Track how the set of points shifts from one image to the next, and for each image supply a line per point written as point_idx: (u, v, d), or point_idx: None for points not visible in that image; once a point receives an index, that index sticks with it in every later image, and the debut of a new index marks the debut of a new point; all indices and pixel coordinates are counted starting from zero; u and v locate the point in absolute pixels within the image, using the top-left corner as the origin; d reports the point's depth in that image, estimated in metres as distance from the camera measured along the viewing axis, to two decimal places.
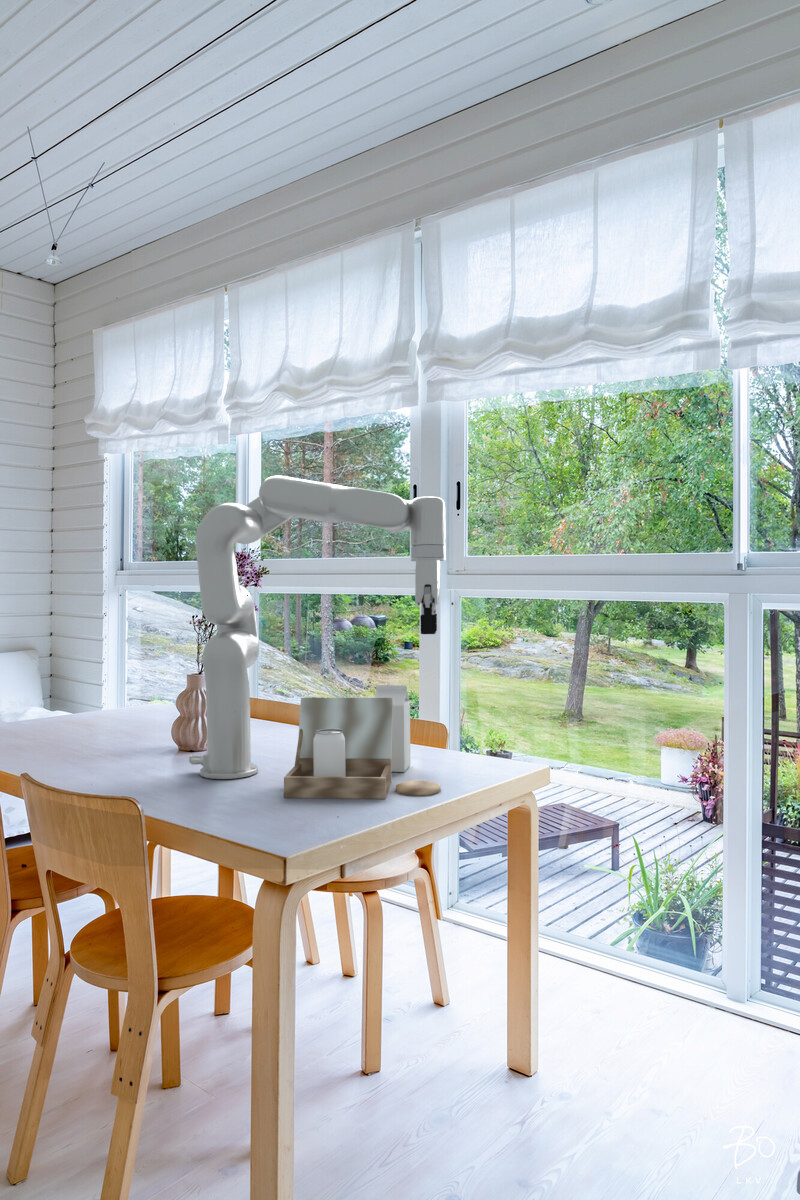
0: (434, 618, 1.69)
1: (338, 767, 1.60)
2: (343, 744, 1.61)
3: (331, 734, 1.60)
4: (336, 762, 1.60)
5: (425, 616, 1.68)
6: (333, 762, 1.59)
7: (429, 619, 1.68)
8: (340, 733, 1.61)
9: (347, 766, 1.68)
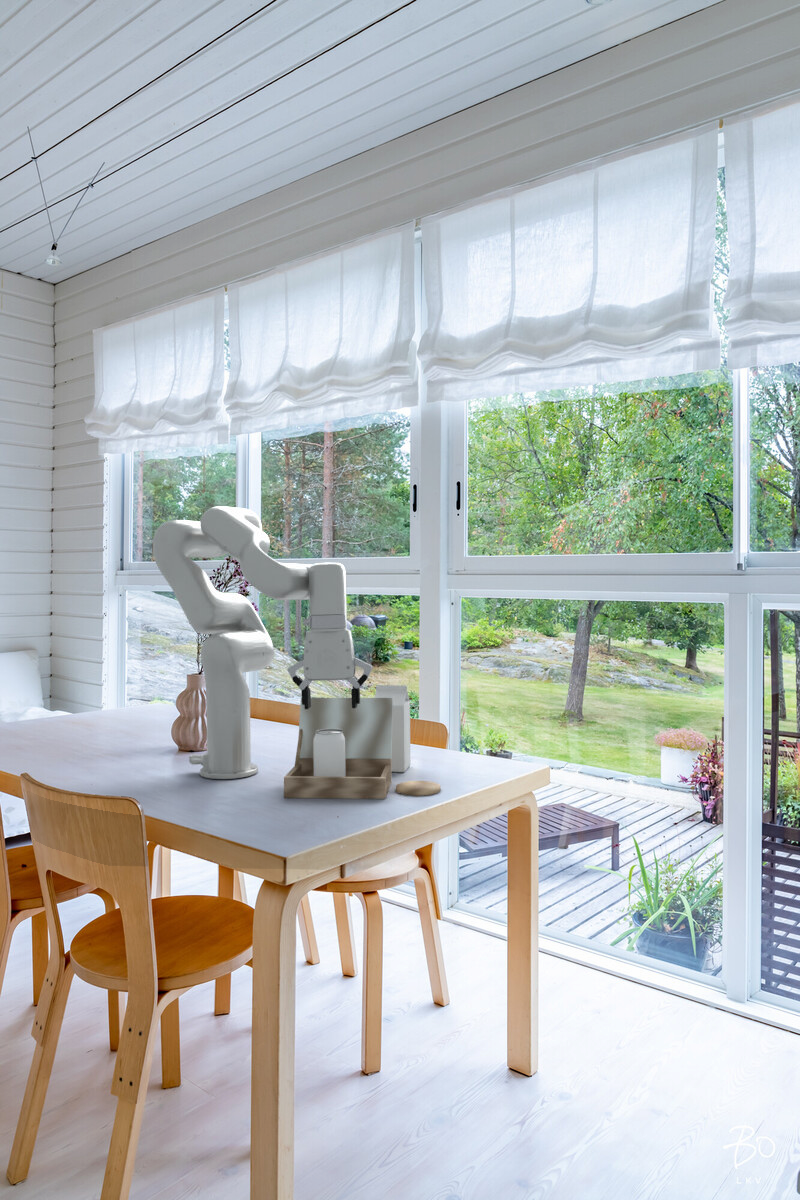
0: None
1: (338, 767, 1.60)
2: (343, 744, 1.61)
3: (331, 734, 1.60)
4: (336, 762, 1.60)
5: (358, 689, 1.61)
6: (333, 762, 1.59)
7: (359, 691, 1.62)
8: (340, 733, 1.61)
9: (347, 766, 1.68)
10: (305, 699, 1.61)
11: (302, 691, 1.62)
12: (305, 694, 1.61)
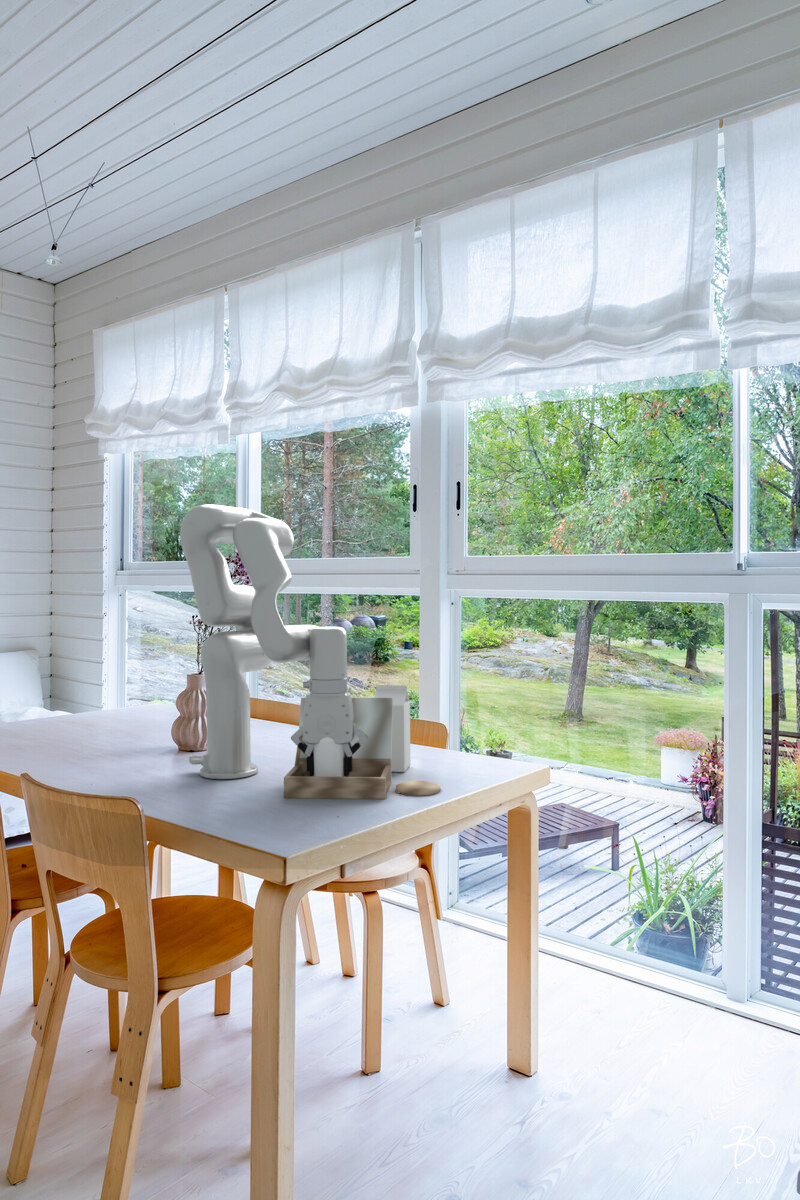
0: None
1: (339, 767, 1.60)
2: None
3: None
4: (337, 762, 1.60)
5: (351, 757, 1.62)
6: (333, 762, 1.59)
7: (351, 759, 1.62)
8: None
9: None
10: (310, 766, 1.61)
11: (307, 758, 1.62)
12: (310, 761, 1.61)
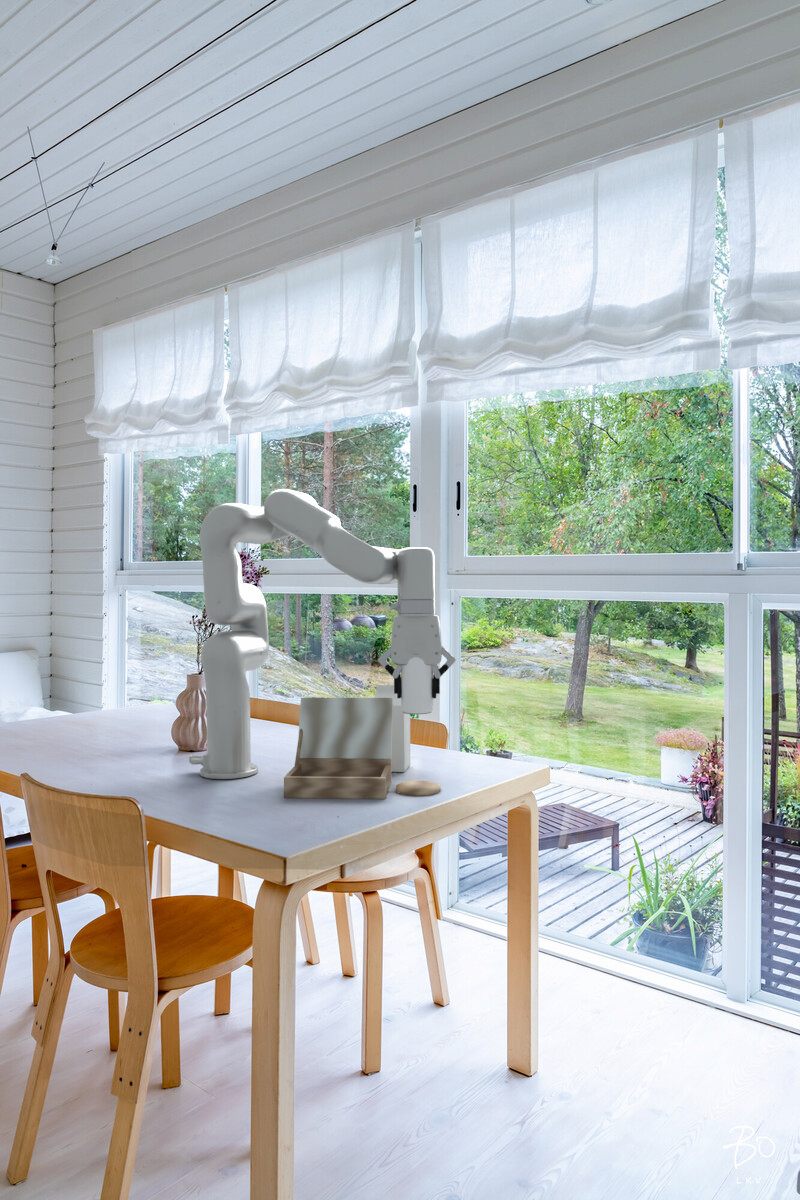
0: None
1: (427, 688, 1.59)
2: None
3: None
4: (425, 683, 1.58)
5: (439, 679, 1.60)
6: (422, 683, 1.58)
7: (439, 681, 1.61)
8: None
9: (347, 766, 1.68)
10: (398, 688, 1.60)
11: (395, 680, 1.61)
12: (398, 683, 1.60)
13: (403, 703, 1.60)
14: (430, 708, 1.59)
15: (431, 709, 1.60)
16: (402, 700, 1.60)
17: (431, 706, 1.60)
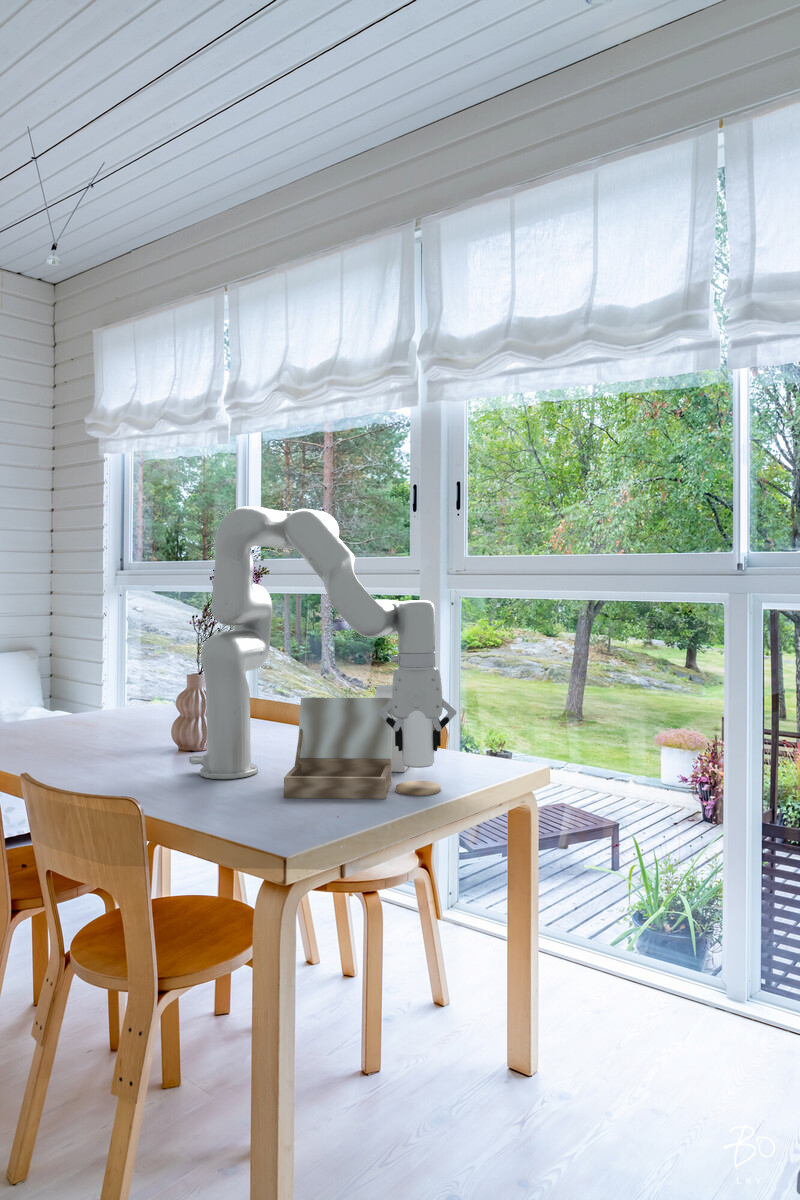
0: None
1: (428, 741, 1.59)
2: None
3: None
4: (426, 736, 1.59)
5: (440, 731, 1.60)
6: (423, 736, 1.58)
7: (440, 734, 1.61)
8: None
9: (347, 766, 1.68)
10: (399, 741, 1.60)
11: (396, 732, 1.61)
12: (399, 736, 1.60)
13: (404, 756, 1.60)
14: (431, 761, 1.60)
15: (432, 762, 1.60)
16: (403, 753, 1.60)
17: (432, 759, 1.60)
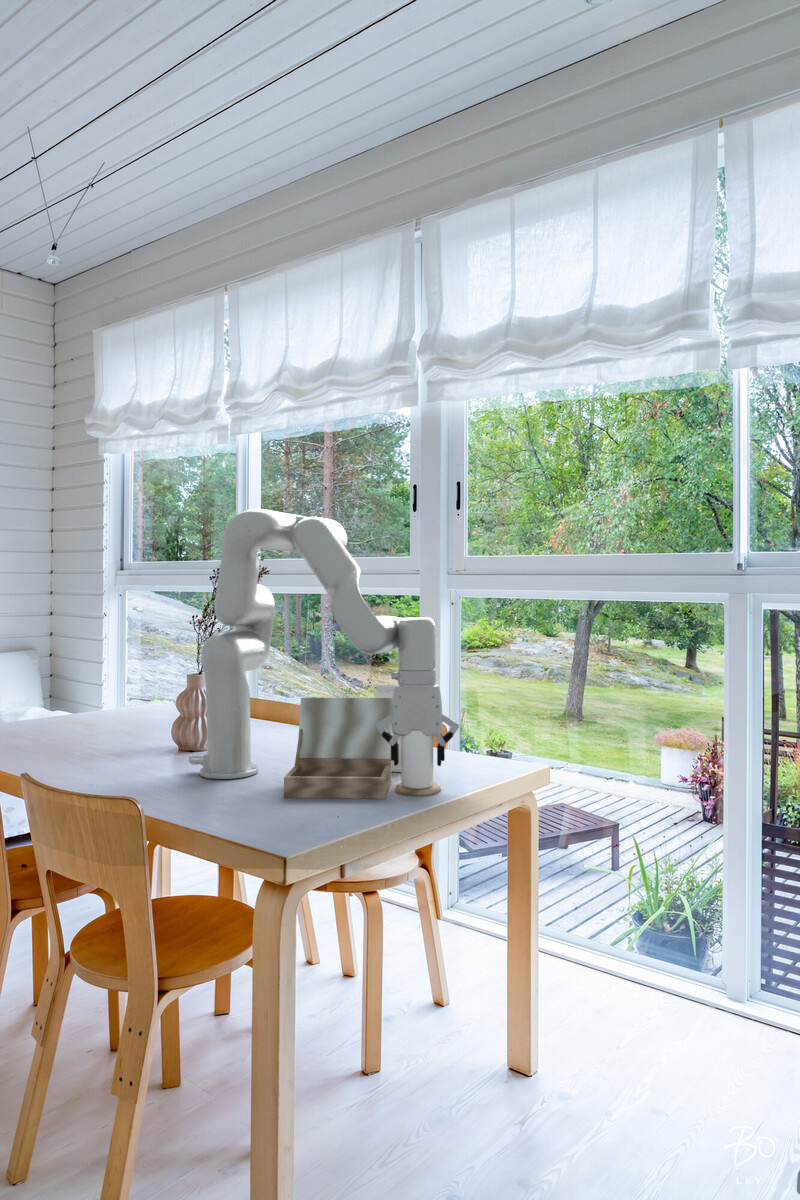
0: None
1: (428, 763, 1.59)
2: (432, 740, 1.60)
3: None
4: (426, 758, 1.59)
5: None
6: (423, 758, 1.58)
7: None
8: None
9: (347, 766, 1.68)
10: (395, 755, 1.60)
11: (391, 747, 1.61)
12: (395, 750, 1.60)
13: (403, 777, 1.60)
14: (431, 782, 1.60)
15: (431, 783, 1.60)
16: (402, 774, 1.60)
17: (431, 780, 1.60)
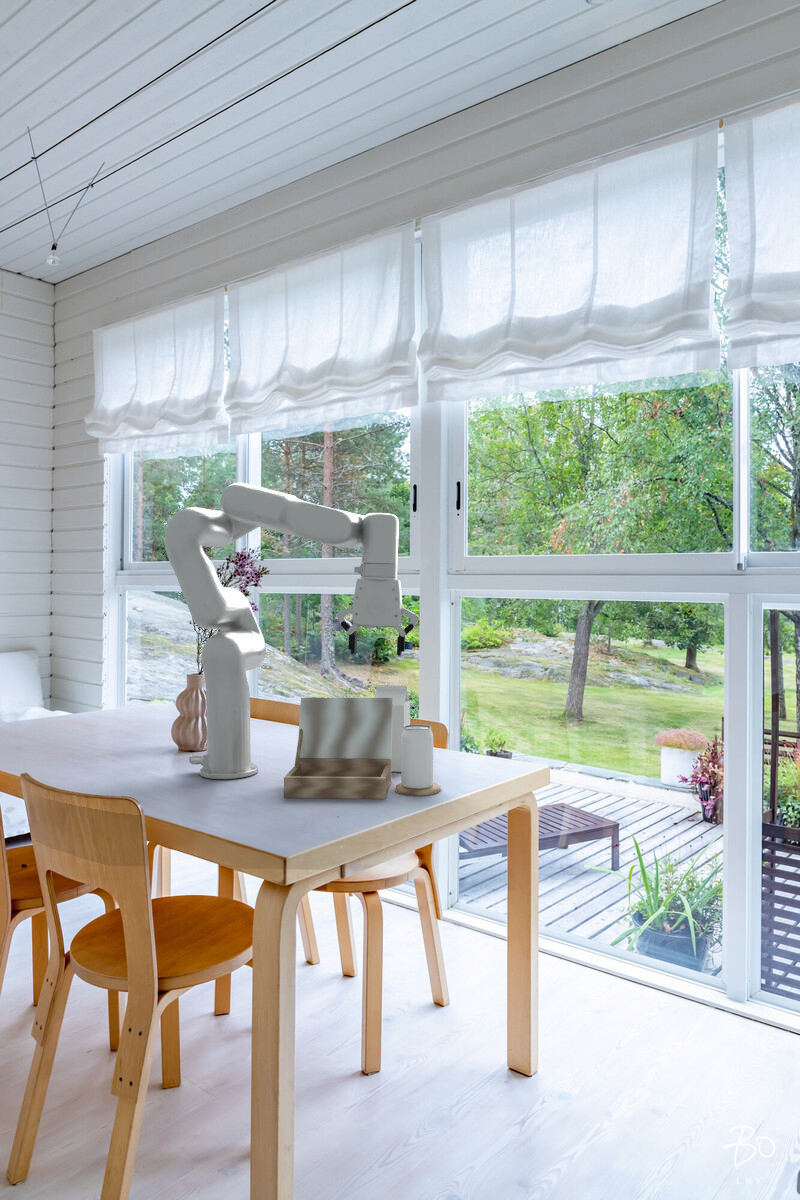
0: None
1: (428, 763, 1.59)
2: (432, 740, 1.60)
3: (421, 730, 1.59)
4: (426, 758, 1.59)
5: (404, 637, 1.66)
6: (423, 758, 1.58)
7: (404, 640, 1.67)
8: (429, 729, 1.60)
9: (347, 766, 1.68)
10: (352, 644, 1.66)
11: (349, 636, 1.67)
12: (352, 639, 1.66)
13: (403, 777, 1.60)
14: (431, 782, 1.60)
15: (431, 783, 1.60)
16: (402, 774, 1.60)
17: (431, 780, 1.60)
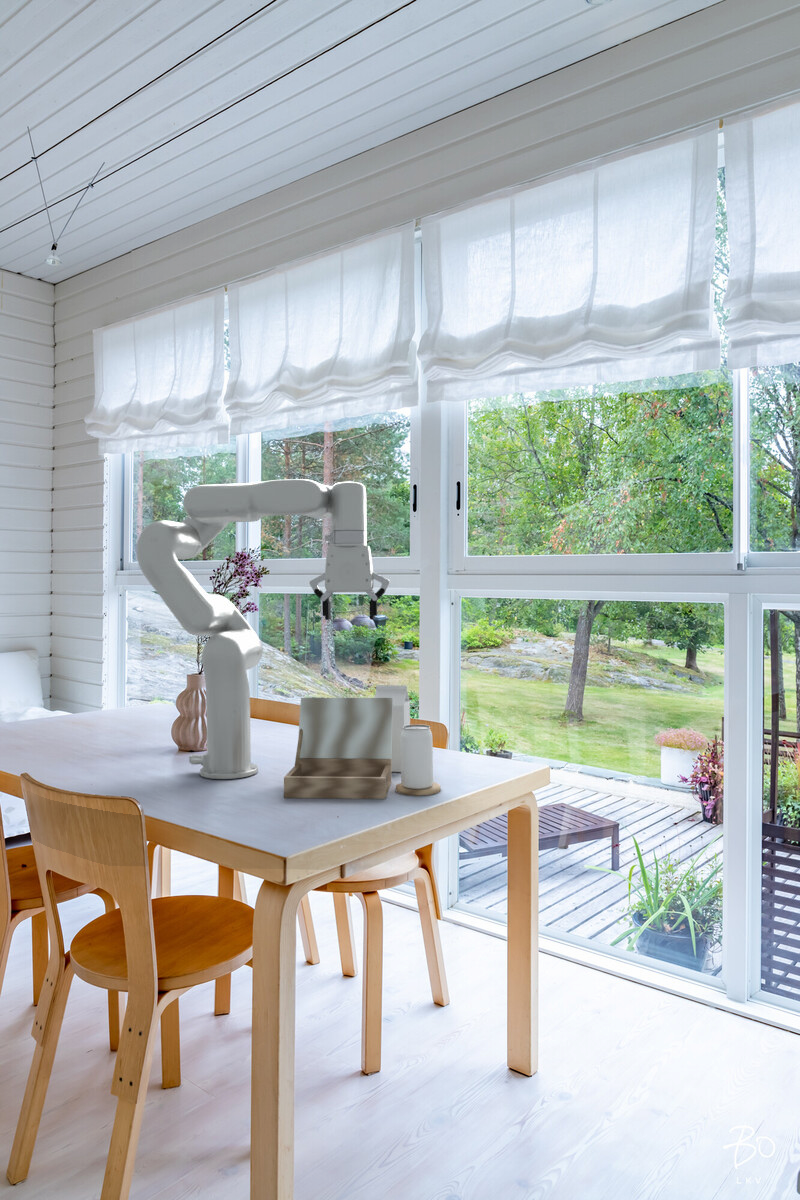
0: None
1: (427, 763, 1.59)
2: (431, 740, 1.60)
3: (420, 730, 1.59)
4: (426, 758, 1.59)
5: (376, 601, 1.71)
6: (423, 758, 1.58)
7: None
8: (428, 729, 1.60)
9: (347, 766, 1.68)
10: (326, 610, 1.71)
11: (323, 603, 1.72)
12: (326, 605, 1.71)
13: (403, 777, 1.60)
14: (431, 782, 1.60)
15: (431, 783, 1.60)
16: (402, 775, 1.60)
17: (431, 780, 1.60)
